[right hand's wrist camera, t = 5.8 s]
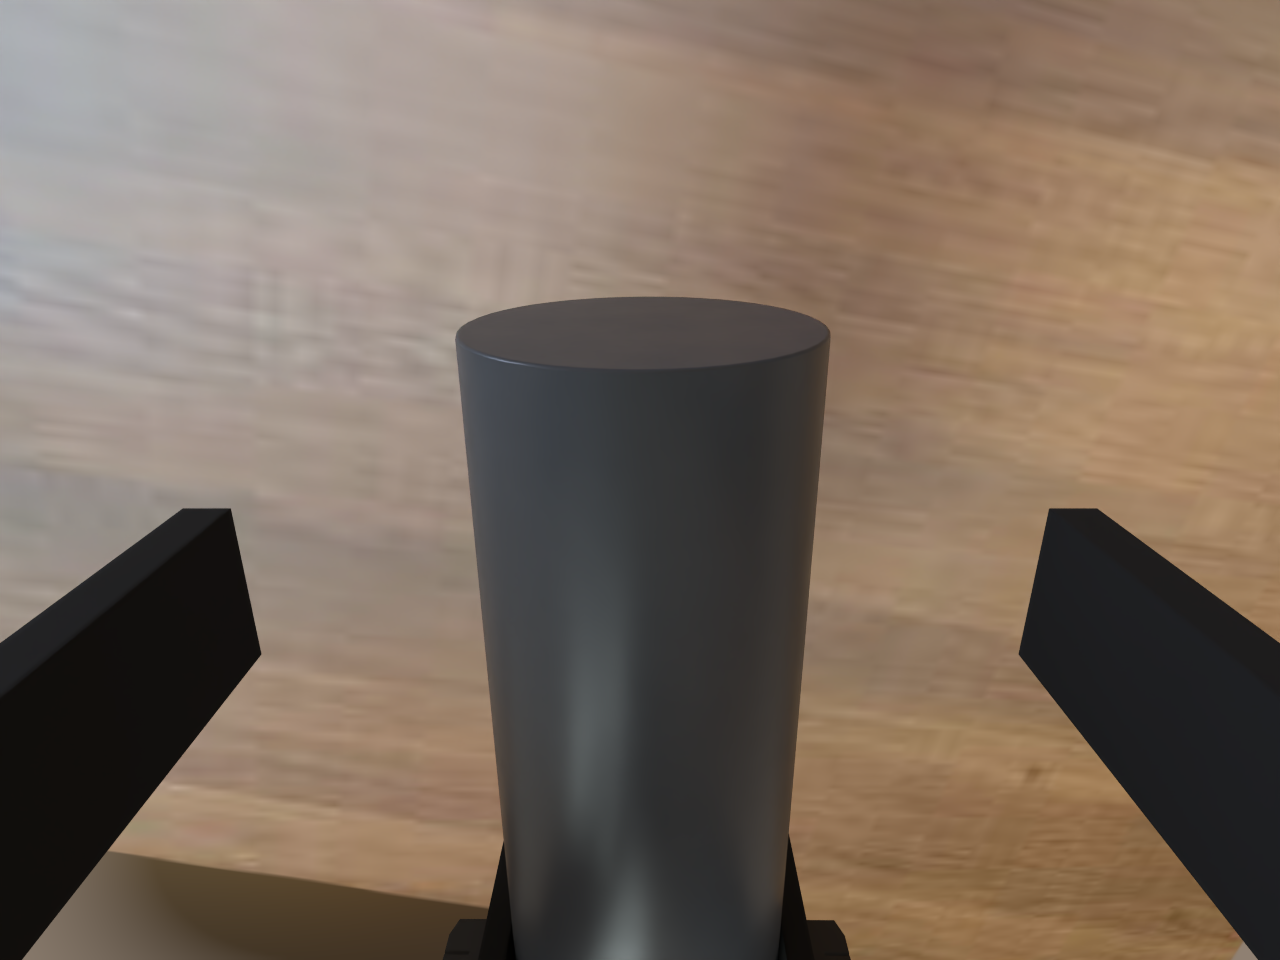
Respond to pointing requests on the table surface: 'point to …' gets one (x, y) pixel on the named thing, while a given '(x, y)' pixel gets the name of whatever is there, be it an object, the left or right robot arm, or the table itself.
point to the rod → (644, 612)
